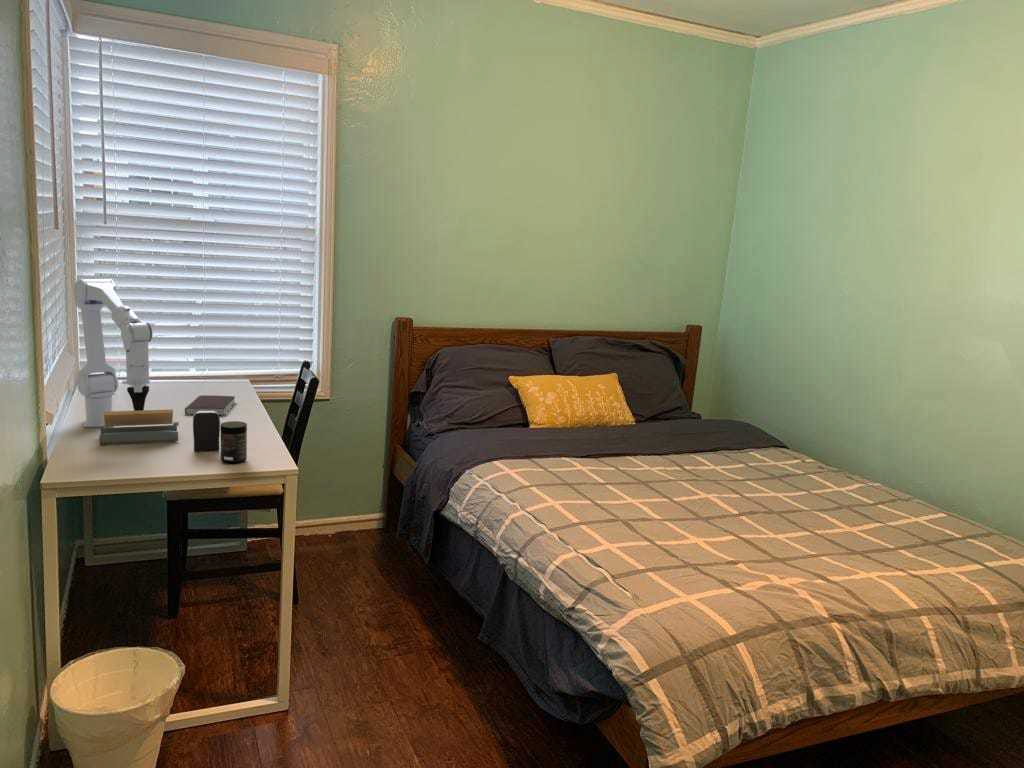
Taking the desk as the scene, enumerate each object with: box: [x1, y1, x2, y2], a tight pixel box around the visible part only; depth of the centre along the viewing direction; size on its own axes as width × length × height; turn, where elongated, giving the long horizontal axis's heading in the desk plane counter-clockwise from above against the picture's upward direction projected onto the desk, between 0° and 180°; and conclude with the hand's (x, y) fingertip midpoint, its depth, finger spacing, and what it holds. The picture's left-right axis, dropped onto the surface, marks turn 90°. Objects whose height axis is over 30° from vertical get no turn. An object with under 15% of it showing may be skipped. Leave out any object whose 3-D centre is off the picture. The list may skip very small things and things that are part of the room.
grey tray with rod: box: [97, 421, 180, 447], centre depth 221 cm, size 9×21×4 cm, turn 115°
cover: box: [104, 408, 174, 428], centre depth 220 cm, size 9×18×1 cm
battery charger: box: [192, 411, 221, 453], centre depth 215 cm, size 7×4×11 cm, turn 111°
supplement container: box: [220, 420, 248, 466], centre depth 207 cm, size 7×7×10 cm
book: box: [184, 394, 236, 416], centre depth 261 cm, size 12×19×3 cm, turn 9°
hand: (138, 412), depth 218 cm, fingers closed
